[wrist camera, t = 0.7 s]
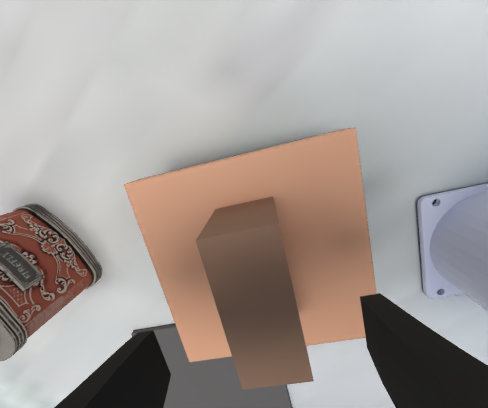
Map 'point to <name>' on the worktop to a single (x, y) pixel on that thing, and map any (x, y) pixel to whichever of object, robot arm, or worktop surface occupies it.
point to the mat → (209, 379)
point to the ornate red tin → (38, 272)
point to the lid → (262, 253)
